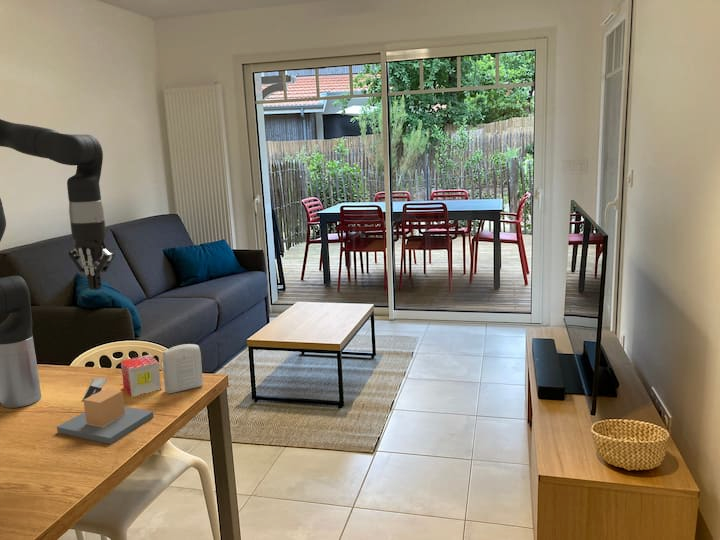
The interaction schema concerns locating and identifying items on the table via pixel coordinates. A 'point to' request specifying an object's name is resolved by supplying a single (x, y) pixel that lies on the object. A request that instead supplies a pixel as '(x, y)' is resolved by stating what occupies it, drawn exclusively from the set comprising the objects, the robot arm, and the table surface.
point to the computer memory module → (94, 387)
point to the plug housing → (104, 407)
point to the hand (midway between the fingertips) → (95, 289)
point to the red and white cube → (141, 375)
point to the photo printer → (182, 368)
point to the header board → (106, 426)
